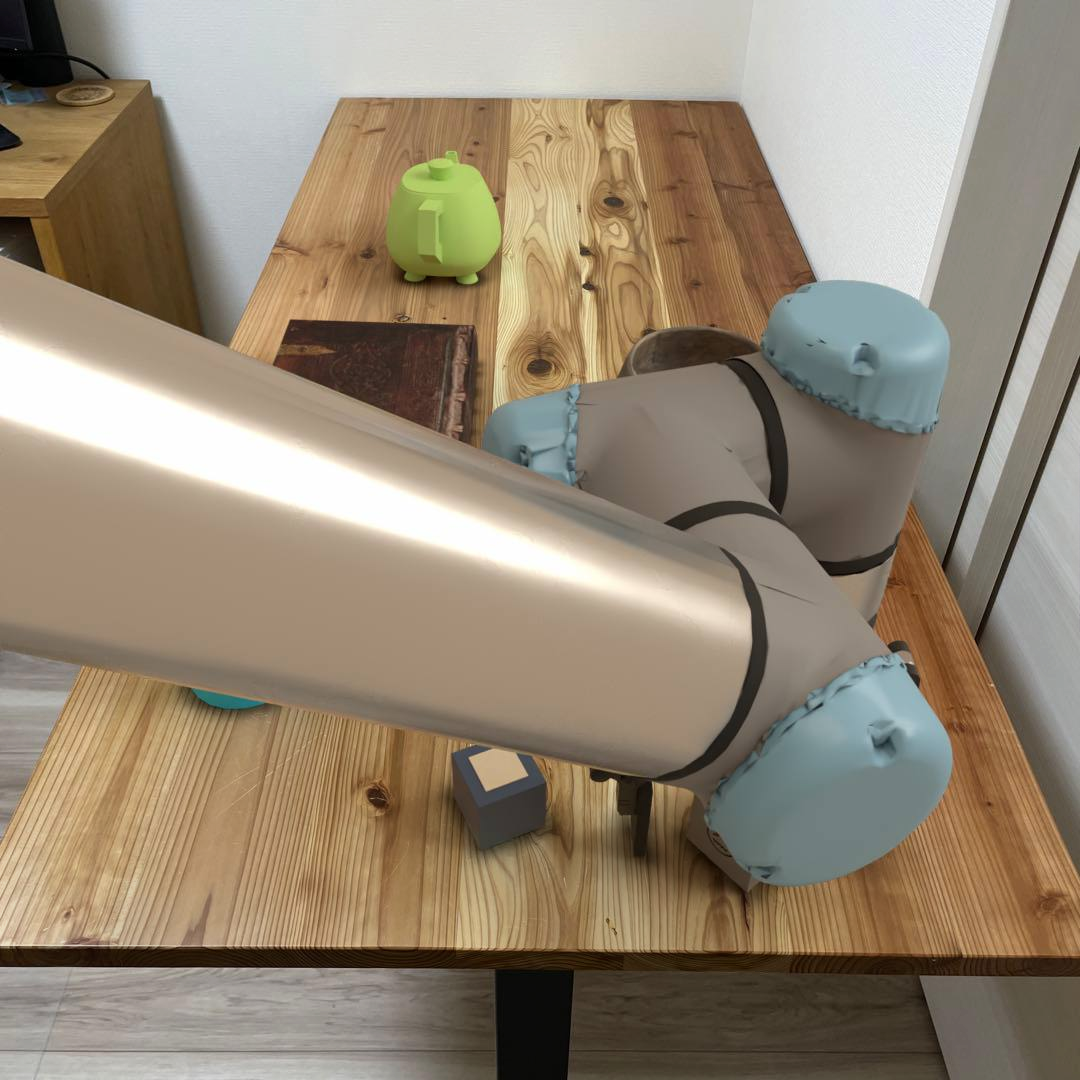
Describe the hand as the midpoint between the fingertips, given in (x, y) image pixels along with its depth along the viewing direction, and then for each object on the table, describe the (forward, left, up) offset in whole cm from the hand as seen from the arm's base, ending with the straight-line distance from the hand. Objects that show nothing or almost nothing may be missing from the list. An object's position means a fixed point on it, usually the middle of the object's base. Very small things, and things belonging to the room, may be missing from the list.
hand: (746, 838), depth 67 cm
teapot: (+12, +83, -1) cm, 83 cm away
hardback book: (-8, +51, -1) cm, 51 cm away
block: (-13, +9, 0) cm, 16 cm away
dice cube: (0, 0, -1) cm, 1 cm away
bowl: (+19, +38, -1) cm, 42 cm away
